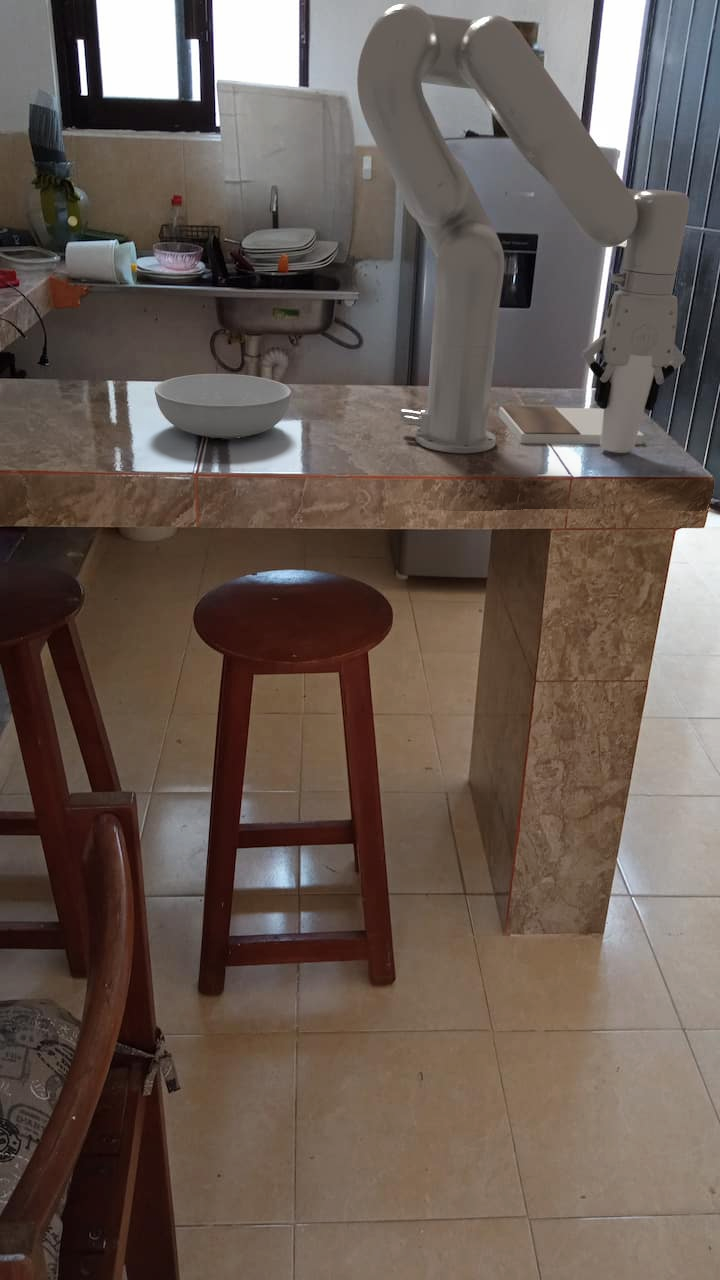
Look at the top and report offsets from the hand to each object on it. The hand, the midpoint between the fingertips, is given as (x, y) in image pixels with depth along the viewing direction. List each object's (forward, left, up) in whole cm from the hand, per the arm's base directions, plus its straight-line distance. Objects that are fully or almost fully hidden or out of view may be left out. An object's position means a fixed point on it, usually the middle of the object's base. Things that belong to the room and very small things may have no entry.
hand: (624, 406), depth 152 cm
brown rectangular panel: (-13, +8, -7) cm, 17 cm away
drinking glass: (0, 0, -7) cm, 7 cm away
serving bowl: (-59, -16, -8) cm, 62 cm away
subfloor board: (-9, +10, -7) cm, 15 cm away
